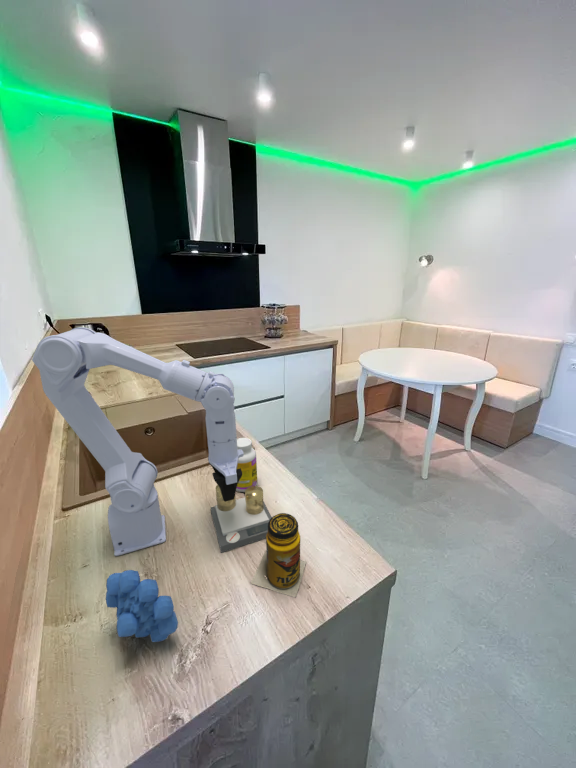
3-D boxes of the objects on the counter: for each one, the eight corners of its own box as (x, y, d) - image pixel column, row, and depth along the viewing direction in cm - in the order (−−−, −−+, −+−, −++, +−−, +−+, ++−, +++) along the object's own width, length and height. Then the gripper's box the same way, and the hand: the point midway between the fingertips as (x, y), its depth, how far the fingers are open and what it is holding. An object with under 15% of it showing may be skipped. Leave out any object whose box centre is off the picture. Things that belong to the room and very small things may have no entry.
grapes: (92, 652, 45) (74, 592, 41) (127, 607, 51) (113, 551, 47) (161, 678, 42) (148, 616, 38) (189, 627, 48) (180, 569, 44)
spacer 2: (265, 511, 69) (265, 494, 67) (248, 516, 68) (247, 499, 66) (260, 500, 72) (260, 484, 71) (244, 505, 71) (243, 488, 70)
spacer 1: (221, 513, 64) (219, 495, 63) (214, 502, 67) (212, 485, 66) (239, 506, 66) (237, 488, 65) (231, 496, 69) (230, 478, 68)
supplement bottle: (255, 493, 78) (253, 449, 74) (229, 493, 78) (226, 448, 74) (258, 477, 85) (257, 435, 80) (234, 477, 85) (231, 435, 81)
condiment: (295, 597, 53) (296, 543, 49) (250, 584, 55) (247, 530, 51) (306, 562, 59) (307, 511, 55) (265, 551, 62) (263, 502, 58)
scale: (221, 553, 61) (220, 544, 60) (211, 513, 72) (210, 505, 71) (277, 534, 66) (277, 526, 65) (260, 499, 76) (259, 491, 75)
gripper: (251, 449, 56) (254, 509, 61) (233, 418, 69) (237, 470, 74) (212, 457, 54) (218, 520, 58) (201, 423, 67) (207, 477, 71)
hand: (226, 492), depth 66 cm, fingers closed on spacer 1, 4 cm apart
